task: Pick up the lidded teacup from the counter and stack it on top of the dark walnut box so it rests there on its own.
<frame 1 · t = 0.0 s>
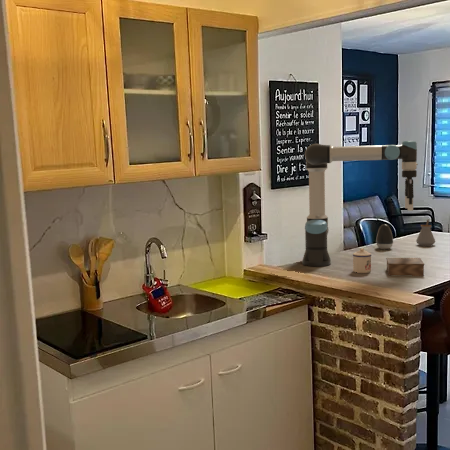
hand: (408, 209, 317), 28 cm above the countertop, tool pointing down, fingers open, 13 cm apart
walnut box: (404, 273, 289), on the countertop
brown egg-shaped piece: (384, 248, 362), on the countertop
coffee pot: (426, 244, 374), on the countertop
teacup with lid: (362, 271, 295), on the countertop
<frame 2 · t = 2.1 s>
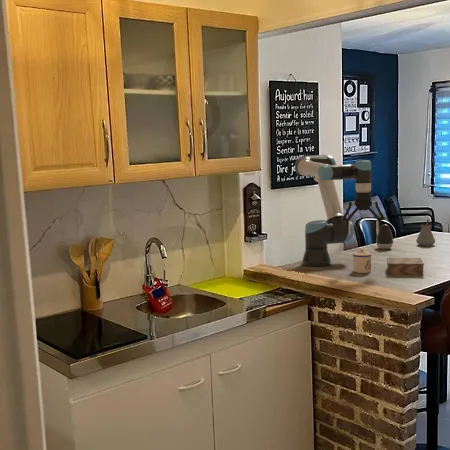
hand: (363, 234, 293), 19 cm above the countertop, tool pointing down, fingers open, 13 cm apart
nothing on the countertop moved.
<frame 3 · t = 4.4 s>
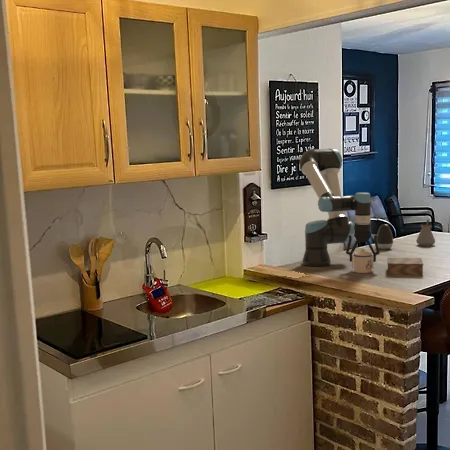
hand: (362, 268, 295), 2 cm above the countertop, tool pointing down, fingers closed on teacup with lid, 9 cm apart
teacup with lid: (363, 271, 295), on the countertop, touching gripper
everything else where it was.
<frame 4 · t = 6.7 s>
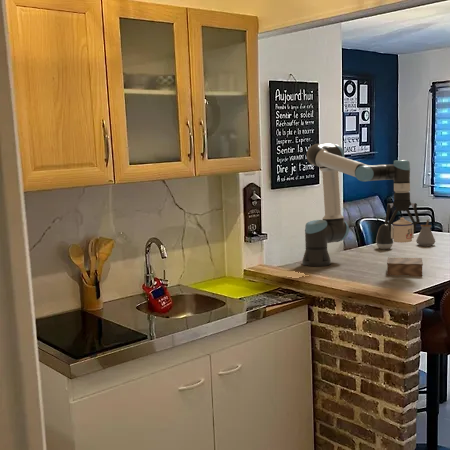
hand: (402, 237, 287), 17 cm above the countertop, tool pointing down, fingers closed on teacup with lid, 9 cm apart
teacup with lid: (403, 241, 287), point 15 cm above the countertop, touching gripper
everything else where it was.
when the fingers open (9 cm above the countertop, at t = 9.1 s): teacup with lid drops 2 cm, resting on walnut box.
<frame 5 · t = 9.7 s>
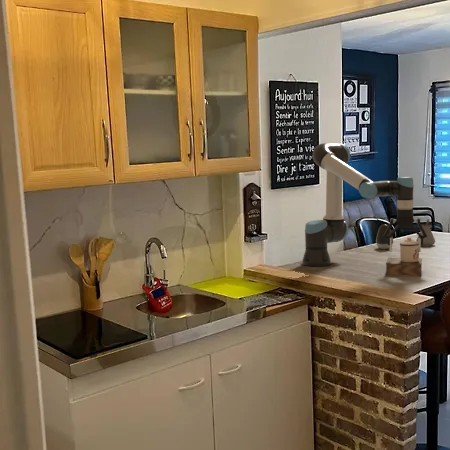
hand: (404, 251, 288), 10 cm above the countertop, tool pointing down, fingers open, 13 cm apart
walnut box: (404, 273, 289), on the countertop, touching teacup with lid
teacup with lid: (410, 261, 288), point 6 cm above the countertop, touching gripper, walnut box
everything else where it was.
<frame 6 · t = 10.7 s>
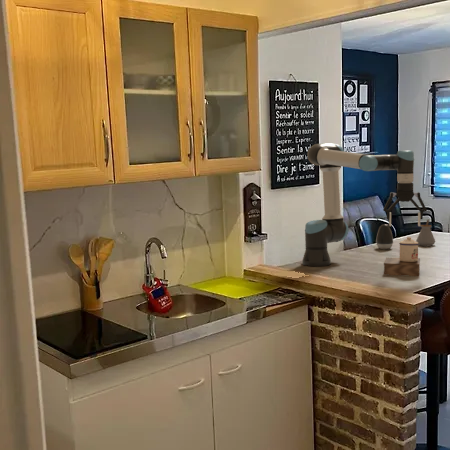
hand: (404, 226, 286), 23 cm above the countertop, tool pointing down, fingers open, 13 cm apart
teacup with lid: (409, 260, 288), point 6 cm above the countertop, touching walnut box
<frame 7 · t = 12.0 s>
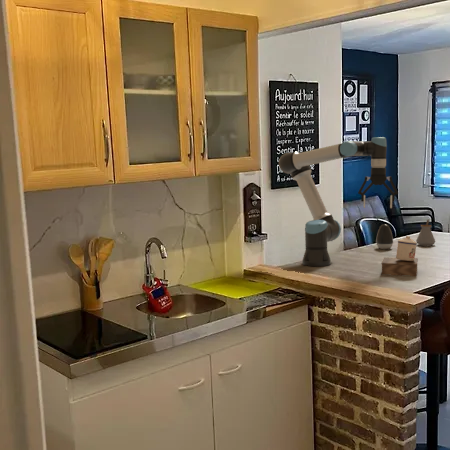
hand: (377, 207, 308), 30 cm above the countertop, tool pointing down, fingers open, 13 cm apart
walnut box: (399, 273, 290), on the countertop, touching teacup with lid
teacup with lid: (405, 260, 289), point 6 cm above the countertop, touching walnut box
everything else where it was.
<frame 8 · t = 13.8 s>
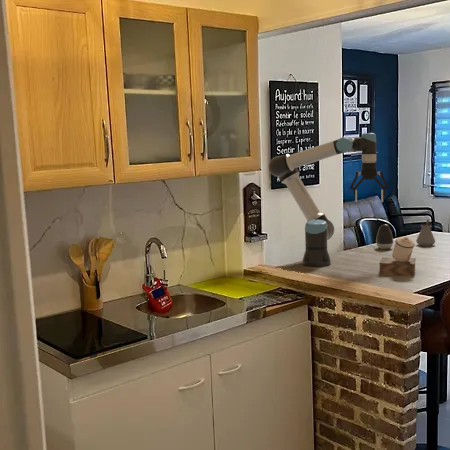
hand: (369, 202, 316), 33 cm above the countertop, tool pointing down, fingers open, 13 cm apart
walnut box: (397, 272, 290), on the countertop, touching teacup with lid
teacup with lid: (400, 256, 289), point 8 cm above the countertop, touching walnut box
everything else where it was.
at the end: teacup with lid inside the target area on the walnut box (1.2 cm from its centre), point 7.3 cm above the walnut box's base; teacup with lid tilted 13°; the gripper is holding nothing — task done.
